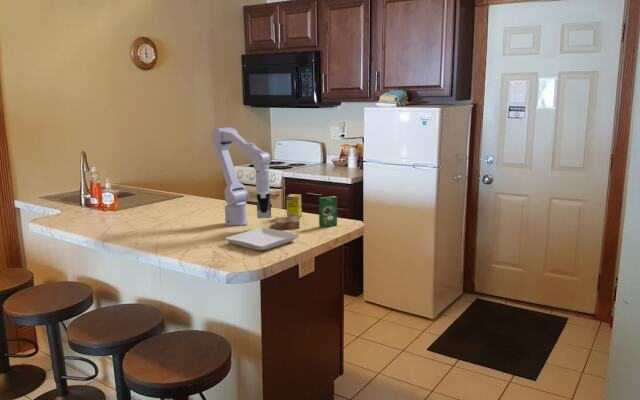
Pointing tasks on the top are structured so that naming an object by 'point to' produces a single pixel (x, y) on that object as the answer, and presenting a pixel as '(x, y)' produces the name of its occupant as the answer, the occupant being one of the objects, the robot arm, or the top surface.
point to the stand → (287, 222)
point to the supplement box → (294, 205)
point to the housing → (264, 215)
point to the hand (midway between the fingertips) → (263, 211)
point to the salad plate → (262, 238)
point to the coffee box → (327, 211)
